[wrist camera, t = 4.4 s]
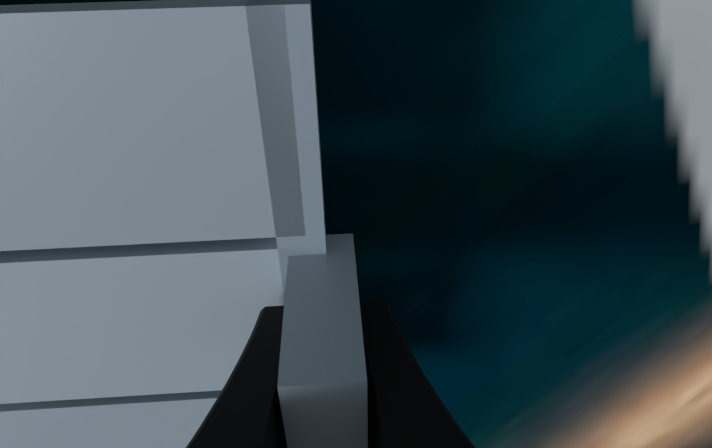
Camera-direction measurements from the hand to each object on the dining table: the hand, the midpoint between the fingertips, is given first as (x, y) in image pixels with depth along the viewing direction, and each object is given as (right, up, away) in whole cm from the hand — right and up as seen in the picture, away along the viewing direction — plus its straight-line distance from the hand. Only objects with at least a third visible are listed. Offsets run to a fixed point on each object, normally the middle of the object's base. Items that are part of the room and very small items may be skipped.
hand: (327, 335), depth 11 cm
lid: (-5, 0, +1) cm, 5 cm away
